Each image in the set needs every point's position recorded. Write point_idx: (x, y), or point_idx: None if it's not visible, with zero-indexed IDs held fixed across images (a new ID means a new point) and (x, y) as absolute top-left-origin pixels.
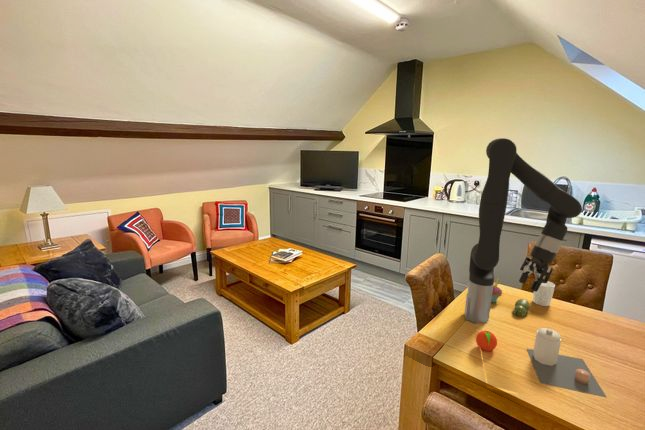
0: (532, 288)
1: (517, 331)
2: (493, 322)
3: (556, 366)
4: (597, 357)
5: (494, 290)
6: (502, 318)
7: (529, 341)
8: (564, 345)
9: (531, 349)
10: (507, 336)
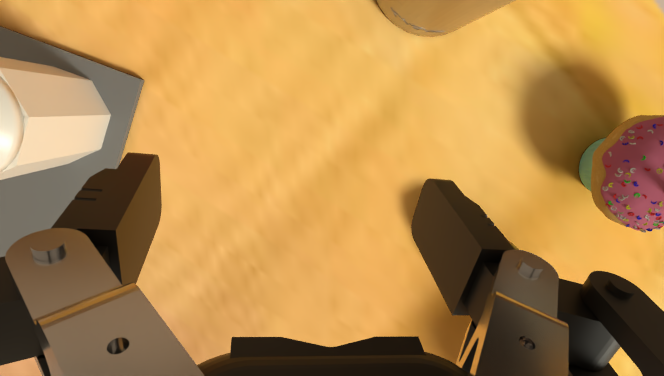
0: (123, 165)
1: (300, 131)
2: (384, 50)
3: None
4: None
5: (635, 170)
6: (419, 123)
7: (215, 140)
8: (190, 281)
9: (133, 99)
10: (255, 51)
